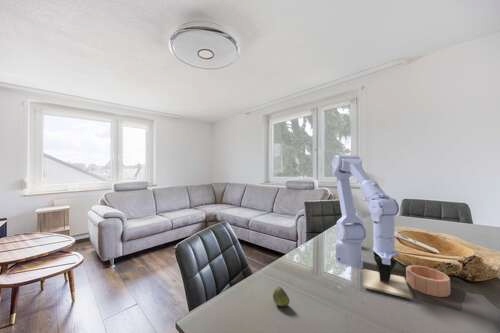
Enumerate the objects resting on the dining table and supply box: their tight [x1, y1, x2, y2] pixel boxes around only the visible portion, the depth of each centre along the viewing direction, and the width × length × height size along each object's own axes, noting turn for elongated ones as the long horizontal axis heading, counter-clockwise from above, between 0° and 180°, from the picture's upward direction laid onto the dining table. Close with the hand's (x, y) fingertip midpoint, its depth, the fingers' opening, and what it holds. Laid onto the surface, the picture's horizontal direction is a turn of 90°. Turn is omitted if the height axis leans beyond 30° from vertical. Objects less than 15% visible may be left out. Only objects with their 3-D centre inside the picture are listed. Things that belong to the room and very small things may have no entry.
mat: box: [359, 270, 418, 306], centre depth 65 cm, size 14×14×1 cm
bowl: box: [405, 264, 451, 298], centre depth 64 cm, size 10×10×5 cm
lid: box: [362, 268, 412, 299], centre depth 65 cm, size 12×12×5 cm
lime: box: [272, 285, 290, 307], centre depth 56 cm, size 4×5×5 cm
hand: (384, 278), depth 65 cm, fingers closed on lid, 2 cm apart
